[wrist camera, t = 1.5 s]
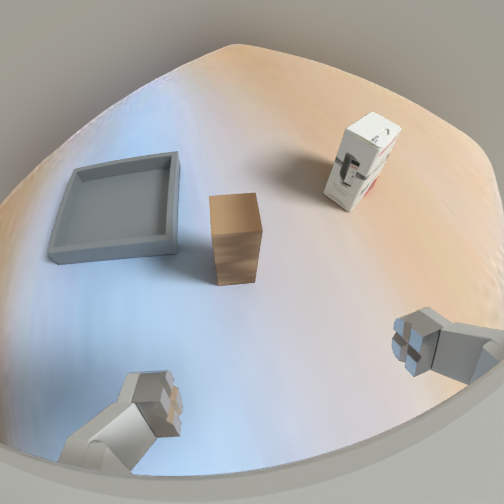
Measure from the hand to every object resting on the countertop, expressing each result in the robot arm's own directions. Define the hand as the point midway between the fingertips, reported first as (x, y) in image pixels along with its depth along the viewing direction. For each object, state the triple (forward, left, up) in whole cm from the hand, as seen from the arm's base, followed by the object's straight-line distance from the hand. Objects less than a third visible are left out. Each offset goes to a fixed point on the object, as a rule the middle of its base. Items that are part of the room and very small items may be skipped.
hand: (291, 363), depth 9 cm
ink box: (+17, +24, -19) cm, 35 cm away
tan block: (-1, +13, -19) cm, 23 cm away
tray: (-16, +23, -18) cm, 33 cm away
